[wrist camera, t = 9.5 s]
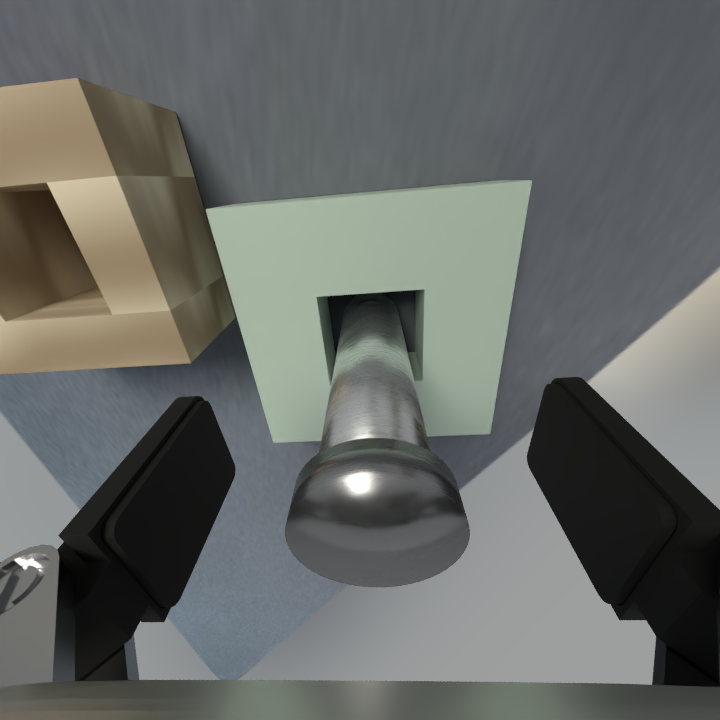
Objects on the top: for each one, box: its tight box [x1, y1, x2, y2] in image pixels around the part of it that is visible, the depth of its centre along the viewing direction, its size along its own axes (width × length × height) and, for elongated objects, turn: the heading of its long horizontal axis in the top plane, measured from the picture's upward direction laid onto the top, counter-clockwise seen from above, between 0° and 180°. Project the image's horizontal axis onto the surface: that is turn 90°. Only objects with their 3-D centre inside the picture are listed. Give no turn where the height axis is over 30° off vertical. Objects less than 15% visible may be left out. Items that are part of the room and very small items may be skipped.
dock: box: [205, 180, 532, 443], centre depth 16 cm, size 12×12×3 cm
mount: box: [0, 78, 236, 374], centre depth 13 cm, size 9×9×5 cm
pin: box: [285, 293, 470, 587], centre depth 12 cm, size 4×4×12 cm
